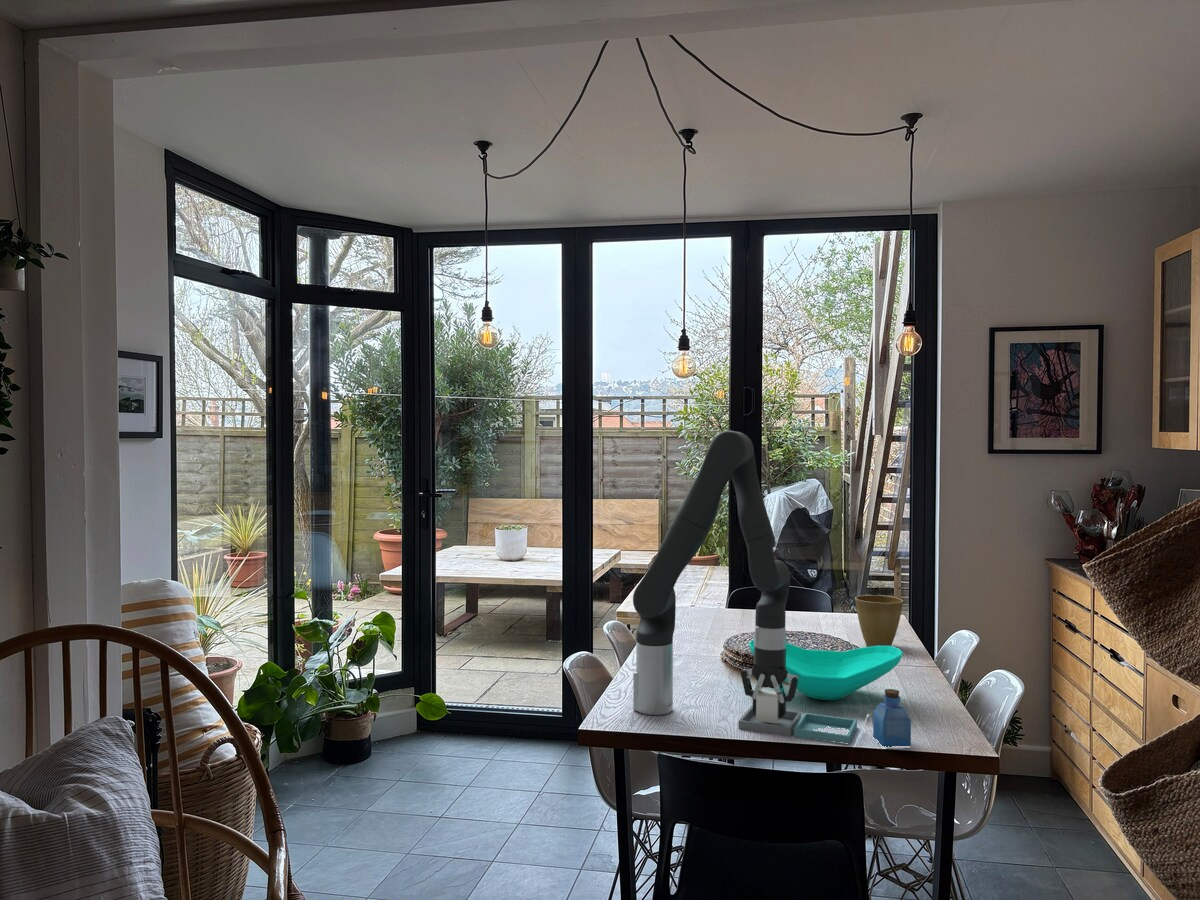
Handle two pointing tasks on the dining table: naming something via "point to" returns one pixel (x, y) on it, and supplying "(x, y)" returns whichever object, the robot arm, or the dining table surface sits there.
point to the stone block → (767, 706)
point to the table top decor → (837, 669)
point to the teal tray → (821, 721)
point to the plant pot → (878, 618)
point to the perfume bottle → (891, 721)
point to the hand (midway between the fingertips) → (769, 715)
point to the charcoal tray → (781, 728)
